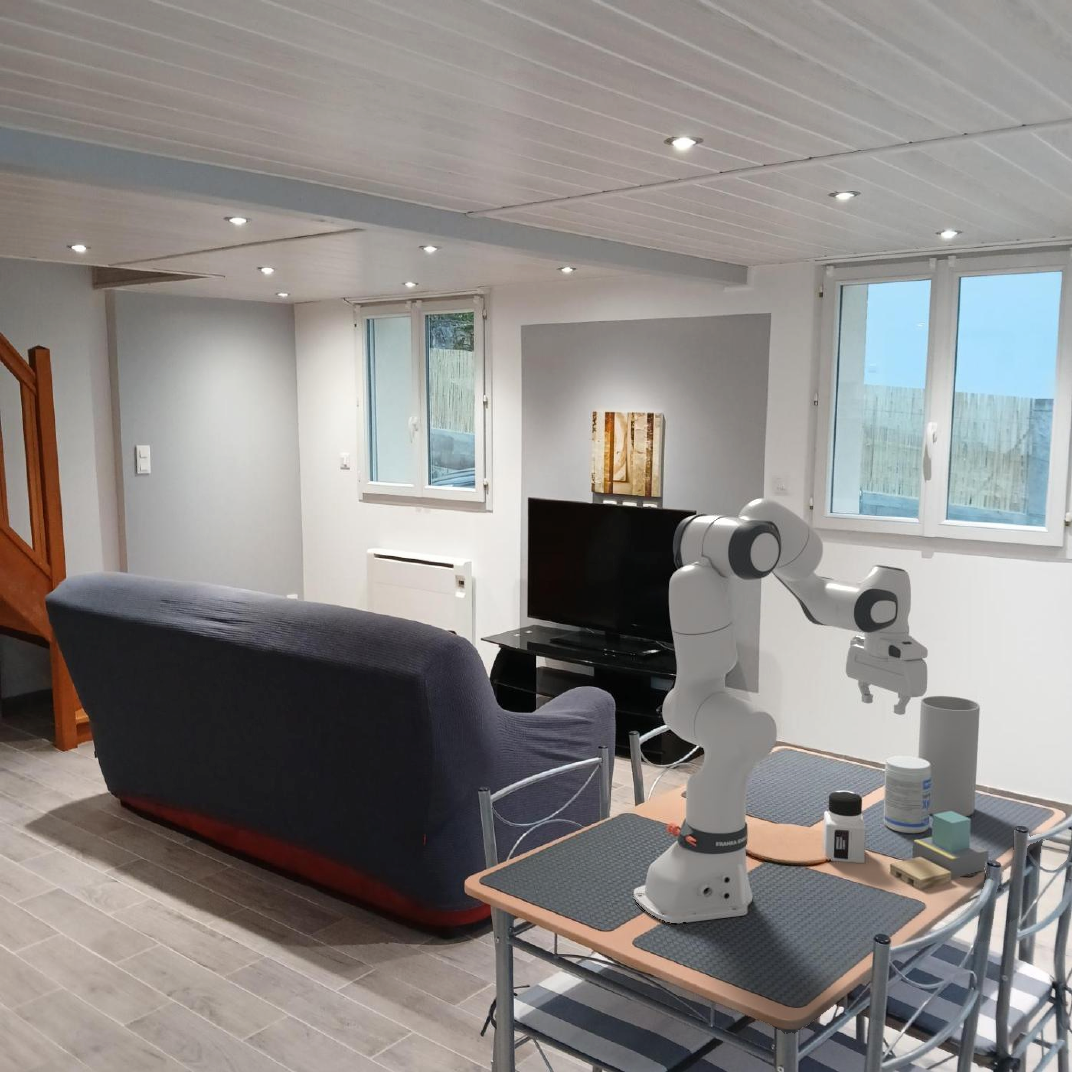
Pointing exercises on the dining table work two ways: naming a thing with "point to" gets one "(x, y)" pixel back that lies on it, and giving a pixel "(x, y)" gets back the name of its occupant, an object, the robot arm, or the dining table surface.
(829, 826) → the container
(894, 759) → the supplement tub
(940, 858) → the block
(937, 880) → the pallet
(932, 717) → the cylinder vase
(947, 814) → the teal block
